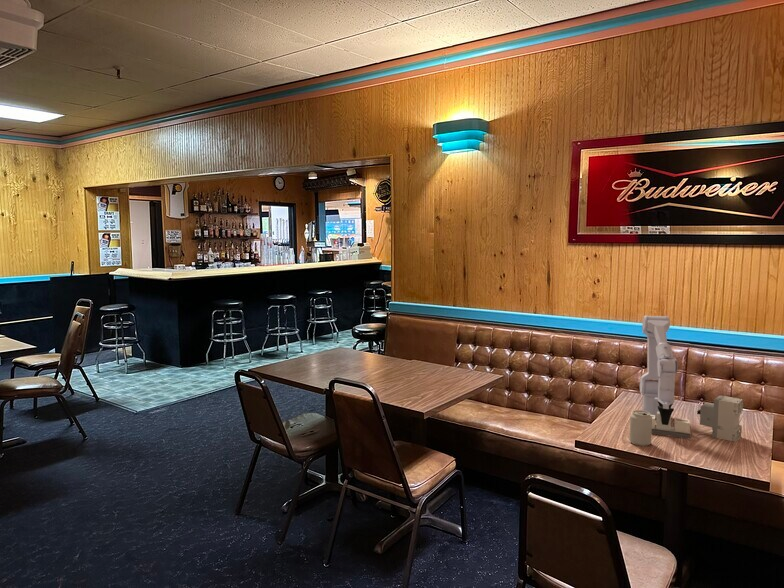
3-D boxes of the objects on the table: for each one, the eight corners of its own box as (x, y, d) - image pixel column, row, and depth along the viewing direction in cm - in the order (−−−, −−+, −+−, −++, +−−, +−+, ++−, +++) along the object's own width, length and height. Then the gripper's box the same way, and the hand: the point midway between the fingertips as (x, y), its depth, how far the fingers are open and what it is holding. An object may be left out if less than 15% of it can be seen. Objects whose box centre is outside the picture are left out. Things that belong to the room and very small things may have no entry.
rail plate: (639, 431, 210) (639, 418, 210) (639, 424, 218) (640, 411, 218) (690, 438, 202) (691, 424, 202) (689, 431, 210) (690, 417, 210)
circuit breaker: (700, 428, 214) (702, 392, 213) (741, 437, 204) (743, 399, 203) (694, 432, 209) (696, 395, 208) (736, 442, 199) (738, 403, 197)
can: (652, 448, 193) (653, 416, 192) (629, 445, 196) (631, 414, 195) (649, 441, 200) (651, 410, 199) (628, 438, 203) (629, 408, 202)
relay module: (656, 428, 209) (656, 413, 209) (656, 425, 213) (656, 410, 213) (670, 430, 207) (671, 415, 206) (670, 427, 211) (670, 412, 210)
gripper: (655, 382, 217) (653, 414, 218) (655, 391, 204) (653, 425, 205) (674, 384, 214) (672, 417, 215) (675, 393, 201) (674, 428, 202)
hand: (664, 421), depth 210 cm, fingers open, 7 cm apart
